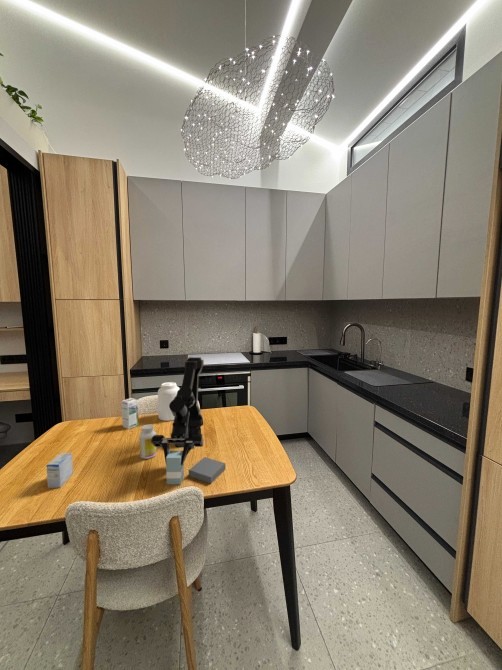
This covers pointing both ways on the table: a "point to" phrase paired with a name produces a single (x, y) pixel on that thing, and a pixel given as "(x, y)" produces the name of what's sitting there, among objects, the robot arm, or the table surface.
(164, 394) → the white plastic jar
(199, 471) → the podium
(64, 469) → the medicine box
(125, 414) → the syrup box
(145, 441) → the supplement bottle
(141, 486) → the table surface
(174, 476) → the carton
